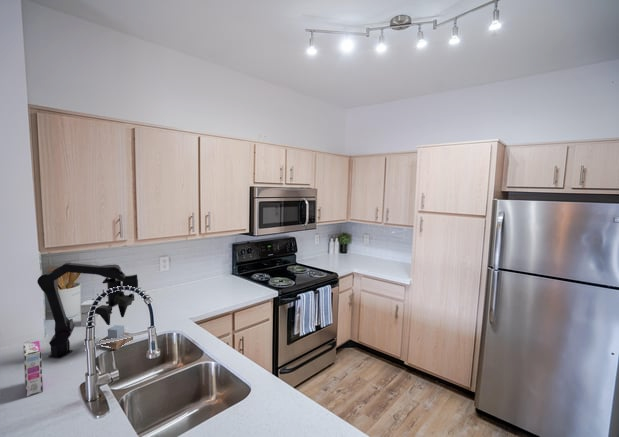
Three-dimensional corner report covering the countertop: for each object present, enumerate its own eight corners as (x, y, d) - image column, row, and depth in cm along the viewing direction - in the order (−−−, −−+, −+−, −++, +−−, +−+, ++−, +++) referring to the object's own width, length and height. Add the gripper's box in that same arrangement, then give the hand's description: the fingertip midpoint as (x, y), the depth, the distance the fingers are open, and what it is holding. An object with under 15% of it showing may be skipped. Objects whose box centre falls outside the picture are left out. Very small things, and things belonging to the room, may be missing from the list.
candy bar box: (44, 391, 116) (41, 350, 114) (26, 397, 112) (23, 355, 111) (41, 378, 124) (39, 339, 122) (25, 383, 120) (22, 344, 119)
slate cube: (117, 340, 149) (116, 330, 149) (107, 339, 150) (107, 329, 149) (124, 335, 154) (124, 325, 154) (115, 334, 155) (115, 325, 154)
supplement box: (80, 326, 171) (79, 304, 169) (86, 321, 178) (85, 300, 177) (95, 325, 172) (94, 303, 171) (100, 319, 180) (100, 299, 179)
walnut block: (116, 350, 146) (116, 343, 146) (99, 348, 149) (99, 340, 148) (133, 341, 156) (132, 333, 156) (117, 338, 158) (116, 331, 158)
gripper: (114, 298, 140) (116, 330, 141) (142, 285, 158) (143, 314, 159) (93, 296, 141) (94, 328, 142) (122, 284, 159) (123, 313, 161)
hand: (115, 320), depth 151 cm, fingers open, 9 cm apart
